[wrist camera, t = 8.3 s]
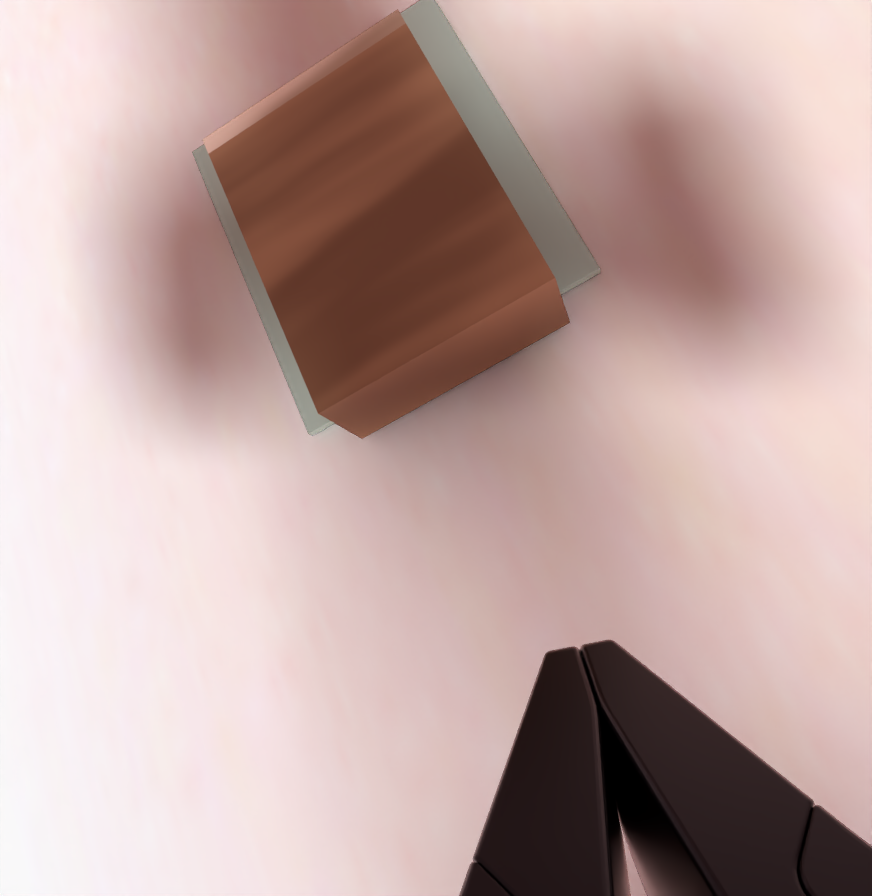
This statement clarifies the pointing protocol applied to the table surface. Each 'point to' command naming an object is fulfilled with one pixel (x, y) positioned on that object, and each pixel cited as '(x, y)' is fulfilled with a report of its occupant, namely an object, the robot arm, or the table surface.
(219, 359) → the table surface
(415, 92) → the slab
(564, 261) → the mat
